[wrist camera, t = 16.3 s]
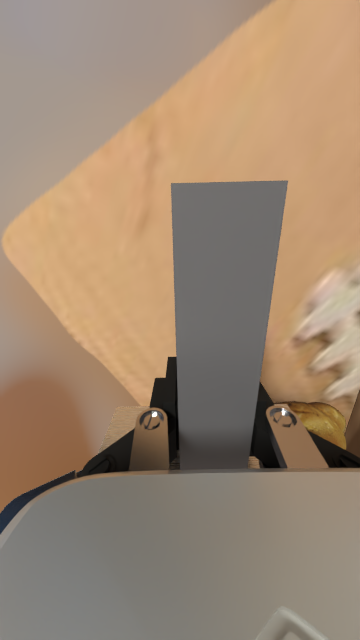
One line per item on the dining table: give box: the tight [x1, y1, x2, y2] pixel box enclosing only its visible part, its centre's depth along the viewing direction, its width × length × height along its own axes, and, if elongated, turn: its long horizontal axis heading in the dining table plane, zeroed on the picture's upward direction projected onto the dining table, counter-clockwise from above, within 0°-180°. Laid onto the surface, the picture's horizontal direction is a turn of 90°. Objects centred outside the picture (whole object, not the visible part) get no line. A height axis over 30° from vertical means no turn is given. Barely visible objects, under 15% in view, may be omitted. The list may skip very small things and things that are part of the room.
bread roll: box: [275, 401, 346, 450], centre depth 26 cm, size 13×10×8 cm
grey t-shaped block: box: [98, 181, 291, 470], centre depth 10 cm, size 12×13×5 cm
